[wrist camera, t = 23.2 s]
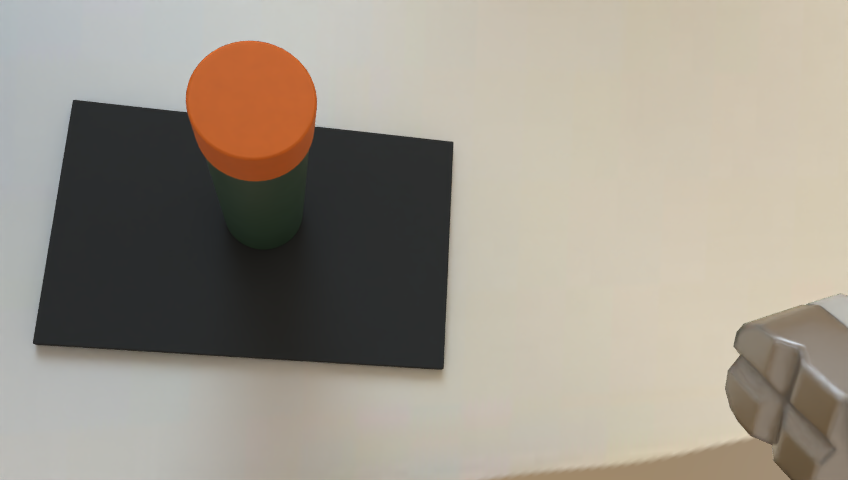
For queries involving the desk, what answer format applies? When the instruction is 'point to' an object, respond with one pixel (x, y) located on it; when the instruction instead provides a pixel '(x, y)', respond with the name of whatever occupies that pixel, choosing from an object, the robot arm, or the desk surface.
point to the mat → (246, 249)
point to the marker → (255, 137)
